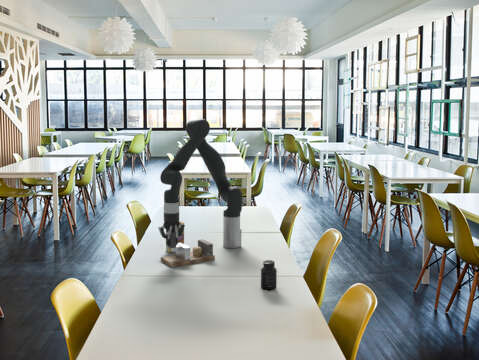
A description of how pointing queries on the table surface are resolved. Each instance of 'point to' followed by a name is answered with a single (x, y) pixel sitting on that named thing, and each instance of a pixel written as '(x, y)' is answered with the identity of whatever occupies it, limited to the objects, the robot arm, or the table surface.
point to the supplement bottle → (268, 276)
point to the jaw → (179, 247)
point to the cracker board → (191, 256)
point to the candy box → (180, 239)
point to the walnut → (196, 251)
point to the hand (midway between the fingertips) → (171, 245)
